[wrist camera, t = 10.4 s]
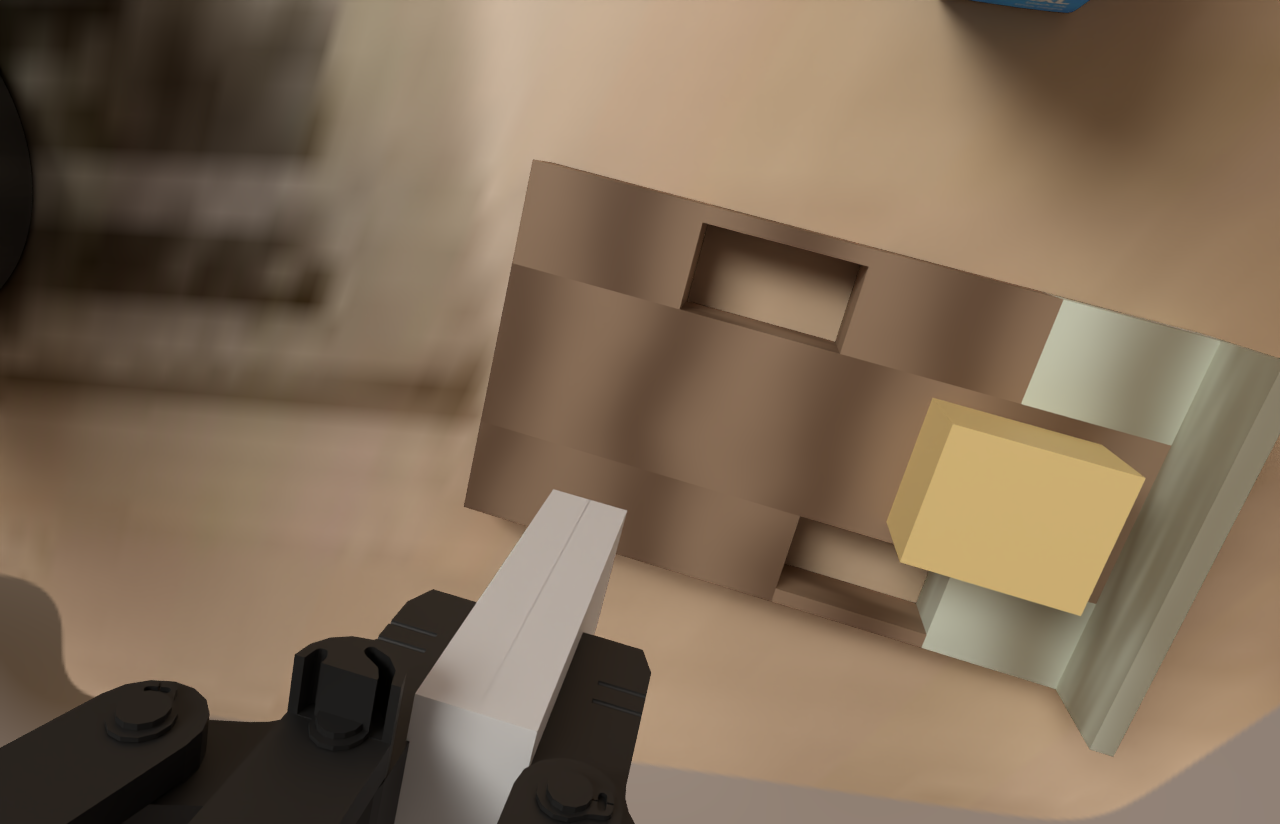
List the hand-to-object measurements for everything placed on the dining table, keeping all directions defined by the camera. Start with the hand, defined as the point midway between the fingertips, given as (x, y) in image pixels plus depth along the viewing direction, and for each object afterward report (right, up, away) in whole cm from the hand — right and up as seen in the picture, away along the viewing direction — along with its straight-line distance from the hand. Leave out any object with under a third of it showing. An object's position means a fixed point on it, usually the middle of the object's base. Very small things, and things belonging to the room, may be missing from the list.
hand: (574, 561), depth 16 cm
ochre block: (+14, 0, +13) cm, 19 cm away
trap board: (+8, +3, +16) cm, 18 cm away
